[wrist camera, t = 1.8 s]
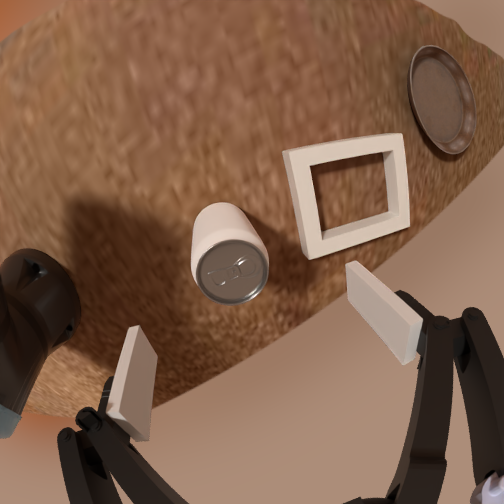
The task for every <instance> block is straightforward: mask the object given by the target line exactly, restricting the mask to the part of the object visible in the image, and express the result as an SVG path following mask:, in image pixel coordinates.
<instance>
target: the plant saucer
mask: <svg viewBox="0 0 504 504" xmlns="http://www.w3.org/2000/svg"><path fill="white" fill-rule="evenodd" d="M407 86H408V95H409V100H410V104H411V107H412V110H413V112H414V115H415V117H416V119H417V121H418V123H419V125H420V126H421V128H422V129H423V131H424V132H425V133H426V135H427V136H428V137H429V138H430V140H431V141H432V142H433V143H434V144H435V145H436V146H437V147H438V148H440V149H441V150H442V151H444V152H446V153H449V154H458V153H461V152H463V151H464V150H465V149H466V148H467V147H468V146H469V144H470V142H471V141H472V138H473V136H474V132H475V128H476V104H475V99H474V95H473V91H472V88H471V85H470V82H469V80H468V78H467V76H466V74H465V72H464V71H463V69H462V67H461V66H460V65H459V63H458V62H457V61H456V60H455V59H454V57H453V56H452V55H450V54H449V53H448V52H447V51H445V50H444V49H442V48H440V47H437V46H433V45H427V46H423V47H421V48H420V49H419V50H418V51H417V52H416V53H415V55H414V57H413V58H412V61H411V63H410V67H409V71H408V80H407Z"/></svg>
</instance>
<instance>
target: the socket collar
mask: <svg viewBox="0 0 504 504" xmlns="http://www.w3.org/2000/svg"><path fill="white" fill-rule="evenodd" d="M378 152H383V159H384V167H385V175H386V185H387V196H388V209H389V212H386V213H382V214H379V215H376V216H372V217H369V218H366V219H362V220H359V221H356V222H352V223H349V224H346V225H342V226H339V227H336V228H332V229H329V230H326V231H322V232H321V229H320V222H319V216H318V210H317V204H316V198H315V193H314V187H313V182H312V176H311V171H310V166H311V165H315V164H320V163H325V162H329V161H334V160H339V159H344V158H350V157H355V156H361V155H366V154H372V153H378ZM282 154H283V158H284V163H285V167H286V172H287V176H288V181H289V186H290V191H291V195H292V200H293V205H294V210H295V215H296V221H297V226H298V231H299V237H300V242H301V248H302V253H303V254H304V255H305V256H306V257H307V258H308V259H309V260H311V259H314V258H317V257H321V256H324V255H327V254H330V253H333V252H336V251H339V250H342V249H345V248H348V247H351V246H354V245H357V244H360V243H363V242H366V241H369V240H372V239H375V238H378V237H381V236H384V235H387V234H389V233H392V232H395V231H398V230H401V229H404V228H407V227H410V213H409V192H408V179H407V168H406V159H405V150H404V143H403V136H402V133H387V134H379V135H371V136H363V137H356V138H350V139H343V140H337V141H331V142H325V143H320V144H314V145H309V146H304V147H299V148H294V149H289V150H285V151H282Z"/></svg>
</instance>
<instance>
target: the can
mask: <svg viewBox="0 0 504 504" xmlns="http://www.w3.org/2000/svg"><path fill="white" fill-rule="evenodd" d="M191 270H192V274H193V277H194V280H195V282H196V283H197V285H198V286H199V288H200V290H201V292H202V293H203V294H204V295H205V296H206V297H207V298H208V299H210V300H211V301H213V302H215V303H218V304H222V305H230V306H231V305H239V304H243V303H246V302H248V301H250V300H252V299H253V298H255V297H256V296H257V295H258V294H259V293H260V292H261V291H262V289H263V288H264V286H265V284H266V282H267V279H268V274H269V257H268V253H267V250H266V247H265V246H264V244H263V242H262V240H261V239H260V237H259V235H258V234H257V232H256V231H255V229H254V228H253V226H252V225H251V223H250V221H249V220H248V218H247V217H246V216H245V214H244V213H243V212H242V210H240V209H239V208H238V207H236V206H235V205H232V204H229V203H215V204H212V205H209V206H207V207H206V208H204V209H203V210H202V211H201V212H200V213H199V215H198V216H197V218H196V220H195V223H194V229H193V239H192V252H191Z"/></svg>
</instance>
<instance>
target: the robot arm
mask: <svg viewBox="0 0 504 504" xmlns="http://www.w3.org/2000/svg"><path fill="white" fill-rule="evenodd" d="M345 265H346V277H347V292H348V300H349V302H350V303H351V304H352V305H353V306H354V307H355V309H356V310H357V311H358V312H359V313H360V314H361V315H362V317H363V318H364V319H365V320H366V321H367V323H368V324H369V325H370V326H371V327H372V329H373V330H374V331H375V332H376V333H377V334H378V336H379V337H380V338H381V339H382V341H383V342H384V343H385V344H386V345H387V346H388V348H389V349H390V350H391V351H392V352H393V354H394V355H395V356H396V357H397V359H398V360H399V361H400V362H401V364H402V365H405V364H407V363H408V362H410V361H412V360H414V359H415V356H416V351H417V352H418V353H419V354H420V355H421V356H420V360H419V364H418V368H417V369H419V370H418V378H417V385H416V391H415V398H414V403H413V408H412V414H411V418H410V423H409V427H408V431H407V436H406V439H405V443H404V447H403V451H402V454H401V458H400V461H399V464H398V468H397V471H396V474H395V476H394V479H393V481H392V483H391V485H390V487H389V490H388V492H387V495H386V497H385V498H366V499H361V497H358V498H356V499H353V500H351V501H348V502H346V503H343V504H437V501H438V498H439V495H440V492H441V488H442V484H443V480H444V476H445V472H446V467H447V461H446V459H445V451H446V446H447V440H448V433H449V426H450V417H451V406H452V394H453V359H454V362H455V366H456V369H457V373H458V377H459V381H460V385H461V389H462V394H463V399H464V403H465V409H466V414H467V420H468V426H469V433H470V440H471V449H472V461H473V472H474V478H475V483H476V488H475V489H474V491H473V493H472V496H471V499H470V503H471V504H504V358H503V355H502V353H501V350H500V348H499V346H498V344H497V341H496V339H495V337H494V335H493V333H492V330H491V328H490V326H489V324H488V322H487V320H486V318H485V316H484V314H483V313H482V311H481V310H479V309H478V308H474V307H469V308H466V309H465V310H464V311H463V313H462V317H460V318H456V319H452V320H449V319H448V318H446V317H444V316H434V315H433V314H432V313H431V312H429V311H428V310H427V309H426V308H425V307H424V306H422V305H421V304H420V303H418V301H417V300H416V299H414V298H413V297H412V296H411V295H410V294H408V293H406V292H404V291H401V290H399V291H397V292H393V291H391V290H390V289H389V288H388V287H387V286H386V285H384V284H383V283H382V282H381V281H380V280H379V279H377V278H376V277H375V276H374V275H373V274H372V273H370V272H369V271H368V270H367V269H366V268H364V267H363V266H362V265H361V264H360V263H358V262H357V261H353V262H350V263H347V264H345ZM80 316H81V308H80V301H79V298H78V294H77V292H76V289H75V287H74V285H73V283H72V281H71V280H70V278H69V277H68V275H67V274H66V272H65V271H64V270H63V269H62V268H61V266H60V265H59V264H58V263H57V262H55V261H54V260H53V259H52V258H51V257H49V256H48V255H46V254H44V253H42V252H40V251H38V250H34V249H20V250H18V251H16V252H14V253H13V254H11V255H10V256H9V257H8V258H6V259H5V260H4V262H3V263H2V264H1V266H0V438H8V437H10V436H11V435H12V434H13V432H14V430H15V428H16V426H17V424H18V422H19V420H21V418H22V417H21V414H22V411H23V409H24V406H25V404H26V401H27V399H28V397H29V394H30V392H31V390H32V388H33V385H34V383H35V381H36V379H37V377H38V375H39V373H40V371H41V369H42V367H43V364H44V362H45V360H46V359H47V357H48V356H49V355H50V354H51V353H53V352H54V351H55V350H57V349H58V348H59V347H61V346H62V345H63V344H65V343H66V342H67V341H68V340H69V339H70V338H71V337H72V336H73V334H74V332H75V330H76V328H77V326H78V324H79V321H80ZM157 359H158V356H157V354H156V353H155V351H154V349H153V348H152V346H151V344H150V343H149V341H148V339H147V338H146V336H145V334H144V332H143V331H142V329H141V327H140V325H138V326H134V327H129V329H128V332H127V335H126V339H125V342H124V345H123V348H122V352H121V355H120V358H119V362H118V365H117V369H116V373H115V376H110V377H109V378H108V380H107V381H106V383H105V385H104V389H103V392H102V396H101V397H102V398H101V400H100V403H99V407H98V411H96V410H95V409H93V408H92V407H85V408H83V409H81V410H80V411H79V412H78V414H77V416H76V420H75V421H76V424H77V425H78V426H79V427H80V428H81V429H82V430H81V431H77V432H75V431H74V430H73V429H72V428H69V427H67V428H64V429H62V430H61V431H60V433H59V434H58V437H57V443H58V450H59V455H60V462H61V467H62V471H63V477H64V481H65V485H66V490H67V493H68V497H69V501H70V504H122V501H121V499H120V497H119V494H118V492H117V490H116V487H115V485H114V482H113V479H112V477H111V474H112V475H113V477H114V478H115V479H116V481H117V482H118V484H119V485H120V486H121V488H122V489H123V490H124V492H125V493H126V494H127V496H128V497H129V498H130V499H131V501H132V502H133V503H134V504H189V503H188V502H186V501H185V500H184V499H183V498H182V497H181V496H180V495H179V494H178V493H177V492H175V490H174V489H172V488H171V487H170V486H169V485H168V484H167V483H166V482H165V481H164V480H163V479H162V477H160V475H159V474H158V473H157V472H156V471H155V470H154V469H153V468H152V467H151V466H150V465H149V464H148V462H147V461H146V460H145V459H144V458H143V457H142V455H141V454H140V453H139V452H138V451H137V450H136V448H135V447H134V446H133V445H132V444H131V443H130V437H132V438H133V439H134V440H135V441H136V442H139V441H149V433H150V421H151V410H152V400H153V391H154V382H155V374H156V366H157ZM110 472H111V474H110Z"/></svg>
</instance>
